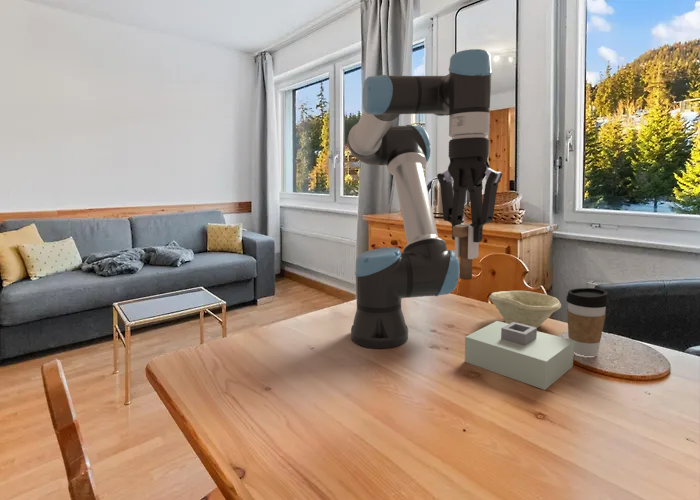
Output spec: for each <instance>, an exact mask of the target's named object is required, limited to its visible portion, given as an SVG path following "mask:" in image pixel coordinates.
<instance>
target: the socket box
mask: <svg viewBox="0 0 700 500" xmlns="http://www.w3.org/2000/svg"><path fill="white" fill-rule="evenodd" d="M464 343H465V344H464V362H465V363H466V364H467V363H468V364H471V365H473V366H476V367H478V368H482V369H484V370H487V371H490V372H492V373H496V374H498V375H501V376H503V377H504V376H505V377H507V378H509V379H513V380H515V381H518V382H520V383H523V384H527V385H529V386H532V387H536V388H538V389H540V390H544V391H546V390H547V389H548V388H549V387H550V386H552V385H553V384H554V383H555V382H556V381H557V380H559V379H560V378H561V377H562V376H564V374H566V373H567V372H568V371H569V370H570V369H572V368H573V366H574V356H575V355H574V340H570V339H569V338H565V337H563V336H558V335H553V334H550V333H546V332H541V331H538V328H536V327H532V326H528V325H524V324H520V323H516V322H512V323H510V324H507V323H505V322H503V321H500V320H495V321H494V322H491V323H490V324H487V325H486V326H484V327H482V328H480V329H478V330H476V331H474V332H471V333H470V334H468V335H466V336H464Z"/></svg>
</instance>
